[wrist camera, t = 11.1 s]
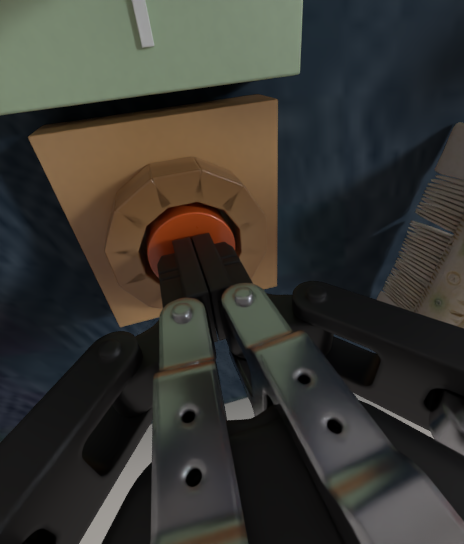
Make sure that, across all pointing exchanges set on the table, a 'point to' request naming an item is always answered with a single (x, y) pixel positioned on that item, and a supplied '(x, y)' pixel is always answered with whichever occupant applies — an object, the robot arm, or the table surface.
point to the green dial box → (139, 48)
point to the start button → (184, 229)
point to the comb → (435, 246)
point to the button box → (164, 187)
